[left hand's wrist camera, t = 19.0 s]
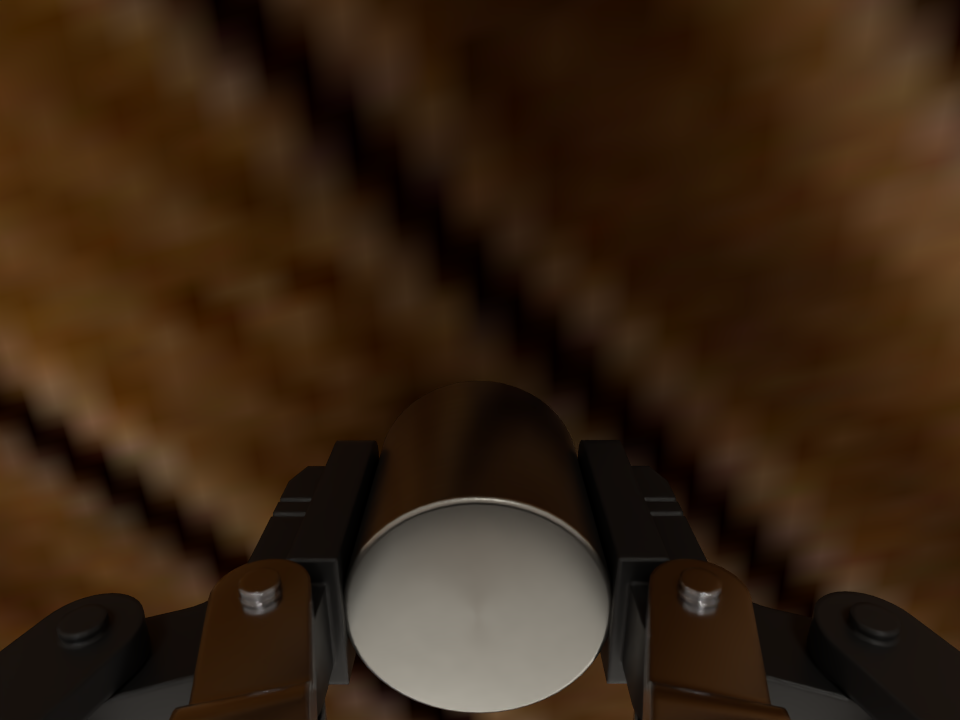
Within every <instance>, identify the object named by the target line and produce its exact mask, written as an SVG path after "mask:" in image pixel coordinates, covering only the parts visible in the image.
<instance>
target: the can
mask: <svg viewBox="0 0 960 720" xmlns="http://www.w3.org/2000/svg"><path fill="white" fill-rule="evenodd" d="M611 604H612V582H611V577H610V574H609V570H608V567H607V563H606V559H605V556H604V552H603V549H602V545H601V541H600V538H599V534H598V530H597V527H596V523H595V520H594V516H593V512H592V509H591V505H590V502H589V498H588V494H587V491H586V487H585V484H584V480H583V476H582V473H581V469H580V465H579V462H578V458H577V455H576V451H575V447H574V444H573V442H572V439H571V436H570V434H569V432H568V430H567V428H566V427H565V425H564V424H563V422H562V421H561V420H560V418H559V417H558V416H557V415H556V413H555V412H554V411H553V410H552V409H551V408H550V407H549V406H547V405H546V404H545V403H543V402H542V401H541V400H540V399H538V398H536V397H535V396H533V395H531V394H530V393H528V392H525V391H523V390H521V389H519V388H516V387H513V386H509V385H506V384H502V383H496V382H490V381H469V382H460V383H455V384H450V385H447V386H444V387H441V388H438V389H436V390H434V391H432V392H429V393H427V394H425V395H424V396H422V397H421V398H419V399H418V400H416V401H414V402H413V403H412V404H411V405H410V406H409V407H407V408H406V409H405V410H404V411H403V412H402V413H401V415H400V416H399V417H398V418H397V419H396V421H395V422H394V424H393V425H392V427H391V428H390V430H389V432H388V434H387V436H386V438H385V441H384V445H383V448H382V451H381V455H380V458H379V462H378V465H377V469H376V472H375V476H374V479H373V483H372V486H371V490H370V493H369V497H368V500H367V504H366V507H365V511H364V514H363V518H362V521H361V525H360V528H359V532H358V535H357V539H356V543H355V546H354V550H353V553H352V557H351V560H350V564H349V567H348V571H347V574H346V578H345V581H344V606H345V617H346V626H347V633H348V636H349V639H350V641H351V644H352V645H353V647H354V649H355V651H356V653H357V654H358V656H359V657H360V659H361V660H362V661H363V663H364V664H365V665H366V666H367V668H368V669H369V670H370V671H371V672H372V673H373V674H374V675H375V676H376V677H377V678H379V679H380V680H381V681H382V682H384V683H385V684H386V685H388V686H389V687H390V688H392V689H394V690H395V691H397V692H399V693H400V694H402V695H404V696H406V697H408V698H410V699H412V700H415V701H417V702H420V703H423V704H425V705H428V706H431V707H435V708H439V709H444V710H448V711H456V712H463V713H491V712H501V711H507V710H513V709H517V708H521V707H524V706H528V705H531V704H534V703H536V702H539V701H542V700H544V699H546V698H548V697H550V696H552V695H554V694H556V693H558V692H559V691H561V690H562V689H564V688H565V687H567V686H568V685H570V684H571V683H572V682H574V681H575V680H576V679H577V678H578V677H580V676H581V675H582V674H583V673H584V672H585V671H586V670H587V668H588V667H589V666H590V665H591V664H592V663H593V661H594V660H595V659H596V657H597V656H598V654H599V653H600V651H601V649H602V647H603V645H604V643H605V641H606V639H607V636H608V633H609V626H610V616H611Z"/></svg>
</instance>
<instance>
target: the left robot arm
mask: <svg viewBox="0 0 960 720" xmlns="http://www.w3.org/2000/svg"><path fill="white" fill-rule="evenodd" d="M378 462H379V453H378V445H377V442H376V441H337V442H336V443H335V445H334V448H333V450H332V452H331V455H330V457H329V459H328V462H327V464H326V466H308V467H306V468H305V469H304V470H303V471H301V472H300V473H299V474H298V475H296V476H295V477H294V478H293V479H291V480H290V481H289V483H288V485H287V486H286V488H285V490H284V492H283V494H282V496H281V498H280V502H278V504H277V506H276V508H275V510H274V512H273V517H271V518H270V520H269V522H268V524H267V526H266V528H265V530H264V532H263V534H262V536H261V538H260V540H259V542H258V544H257V546H256V548H255V550H254V552H253V554H252V556H251V558H250V560H249V562H248V563H247V564H245V565H243V566H240V567H238V568H236V569H234V570H233V571H231V572H229V573H228V574H227V575H225V576H224V577H223V578H222V579H221V580H219V581H218V583H217V584H216V585H215V586H214V588H213V589H212V591H211V593H210V596H209V599H208V601H206V602H204V603H202V604H199V605H196V606H194V607H190V608H187V609H183V610H178V611H174V612H170V613H165V614H161V615H156V616H152V617H148V618H145V614H144V610H143V607H142V605H141V604H140V602H139V601H138V600H136V599H135V598H134V597H131V596H129V595H125V594H118V593H108V594H99V595H93V596H90V597H86V598H82V599H80V600H77V601H74V602H72V603H70V604H67V605H65V606H63V607H61V608H60V609H58V610H56V611H54V612H53V613H51V614H50V615H48V616H47V617H46V618H44V619H43V620H42V621H40V622H39V623H38V624H36V625H35V626H34V627H32V628H31V629H30V630H28V631H27V632H26V633H24V634H23V635H22V636H20V637H19V638H18V639H16V640H15V641H14V642H12V643H11V644H10V645H8V646H7V647H6V648H4V649H3V650H2V651H0V720H327V715H326V706H325V696H326V692H327V689H328V685H329V684H349V681H350V676H351V672H352V667H353V663H354V659H355V654H356V651H355V649H354V647H353V645H352V644H351V641H350V639H349V636H348V633H347V626H346V617H345V606H344V581H345V578H346V574H347V571H348V567H349V564H350V560H351V557H352V553H353V550H354V546H355V543H356V539H357V535H358V532H359V528H360V525H361V521H362V518H363V514H364V511H365V507H366V504H367V500H368V497H369V493H370V490H371V486H372V483H373V479H374V476H375V472H376V469H377V465H378ZM578 462H579V465H580V469H581V473H582V476H583V480H584V484H585V487H586V491H587V494H588V498H589V502H590V505H591V509H592V512H593V516H594V520H595V523H596V527H597V530H598V534H599V538H600V541H601V545H602V549H603V552H604V556H605V559H606V563H607V567H608V570H609V574H610V577H611V582H612V604H611V616H610V626H609V633H608V636H607V639H606V641H605V643H604V645H603V647H602V649H601V651H600V653H601V658H602V662H603V667H604V671H605V676H606V681H607V683H627V686H628V690H629V693H630V697H631V701H632V705H633V708H634V715H633V720H960V651H958V650H957V649H956V648H954V647H953V646H952V645H950V644H949V643H948V642H946V641H945V640H944V639H942V638H941V637H940V636H938V635H937V634H936V633H934V632H933V631H932V630H930V629H929V628H928V627H926V626H925V625H924V624H922V623H921V622H920V621H918V620H917V619H916V618H914V617H913V616H912V615H910V614H909V613H907V612H906V611H904V610H903V609H901V608H899V607H898V606H896V605H894V604H892V603H890V602H888V601H885V600H883V599H880V598H877V597H875V596H871V595H867V594H863V593H857V592H847V591H844V592H834V593H830V594H827V595H825V596H823V597H822V598H820V599H819V600H818V601H817V603H816V605H815V608H814V612H813V616H812V618H811V617H807V616H802V615H798V614H793V613H789V612H785V611H780V610H776V609H771V608H768V607H764V606H761V605H758V604H755V603H753V602H752V599H751V596H750V593H749V591H748V589H747V588H746V586H745V585H744V584H743V583H742V581H741V580H739V579H738V578H737V577H736V576H735V575H733V574H732V573H731V572H729V571H727V570H726V569H724V568H722V567H720V566H717V565H715V564H712V563H709V562H707V560H706V558H705V556H704V554H703V552H702V550H701V548H700V546H699V544H698V542H697V540H696V538H695V536H694V534H693V532H692V530H691V528H690V526H689V524H688V522H687V520H686V517H685V516H683V511H682V509H681V507H680V505H679V503H678V502H676V497H675V495H674V493H673V491H672V489H671V487H670V485H669V483H668V481H667V480H666V479H664V478H663V477H662V476H661V475H659V474H658V473H657V472H656V471H654V470H653V469H652V468H651V467H649V466H631V465H630V463H629V460H628V458H627V455H626V453H625V451H624V448H623V446H622V443H621V442H620V440H581V441H580V444H579V450H578Z"/></svg>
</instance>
